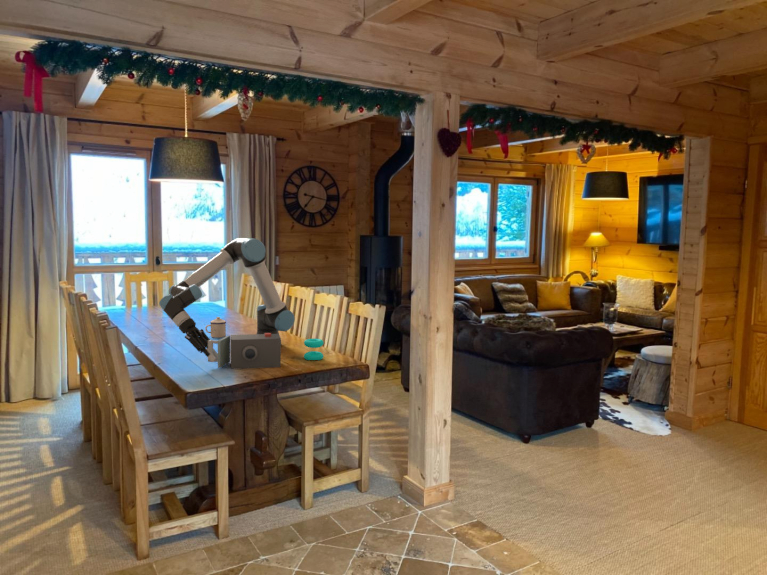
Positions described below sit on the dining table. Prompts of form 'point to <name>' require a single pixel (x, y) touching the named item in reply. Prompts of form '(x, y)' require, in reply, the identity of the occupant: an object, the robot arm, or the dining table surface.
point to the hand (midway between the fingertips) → (216, 359)
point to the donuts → (313, 344)
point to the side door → (221, 350)
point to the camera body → (255, 351)
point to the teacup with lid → (217, 328)
